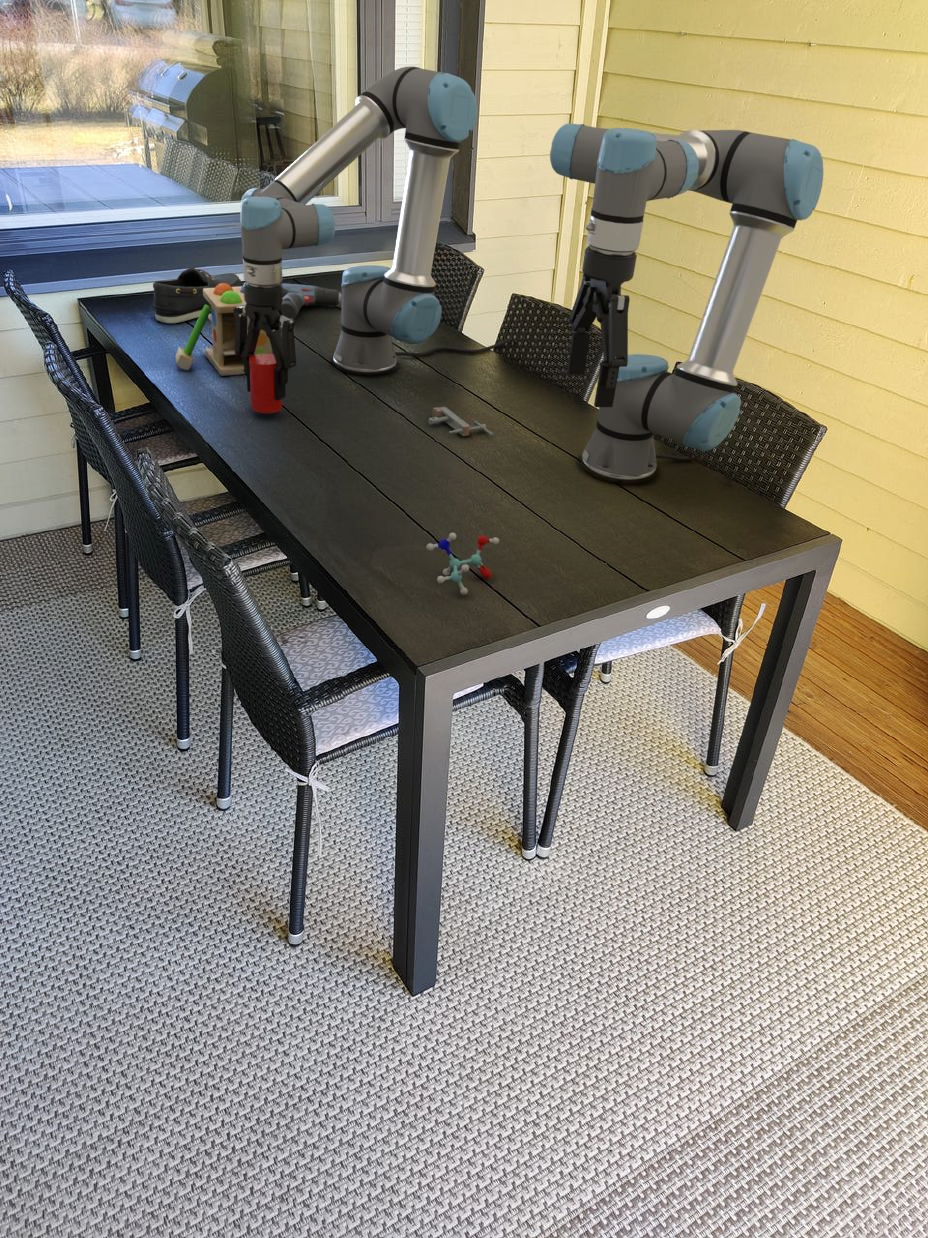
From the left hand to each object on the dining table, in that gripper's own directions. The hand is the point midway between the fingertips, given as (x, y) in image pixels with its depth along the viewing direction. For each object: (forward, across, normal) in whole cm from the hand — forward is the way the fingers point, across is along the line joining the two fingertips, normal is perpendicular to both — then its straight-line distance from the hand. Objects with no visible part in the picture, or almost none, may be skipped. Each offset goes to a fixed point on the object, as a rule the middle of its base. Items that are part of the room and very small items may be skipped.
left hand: (266, 393), depth 206 cm
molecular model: (+5, +64, -35) cm, 74 cm away
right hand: (-25, +76, -18) cm, 82 cm away
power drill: (+5, -33, +62) cm, 71 cm away
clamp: (+5, +36, +18) cm, 41 cm away
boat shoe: (+5, -57, +47) cm, 74 cm away
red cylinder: (+3, 0, 0) cm, 3 cm away
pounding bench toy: (+5, -25, +18) cm, 31 cm away
